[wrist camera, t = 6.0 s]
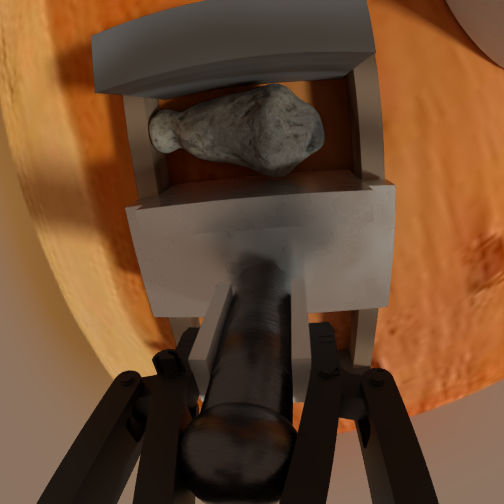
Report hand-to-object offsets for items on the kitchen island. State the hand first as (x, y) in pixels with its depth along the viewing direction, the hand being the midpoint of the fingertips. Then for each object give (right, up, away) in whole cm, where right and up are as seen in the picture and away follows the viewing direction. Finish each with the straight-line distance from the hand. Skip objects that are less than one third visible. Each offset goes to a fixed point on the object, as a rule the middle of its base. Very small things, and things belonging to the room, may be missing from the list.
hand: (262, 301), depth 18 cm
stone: (-1, +11, +2) cm, 11 cm away
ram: (0, +4, +4) cm, 6 cm away
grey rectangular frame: (0, +5, +5) cm, 7 cm away
